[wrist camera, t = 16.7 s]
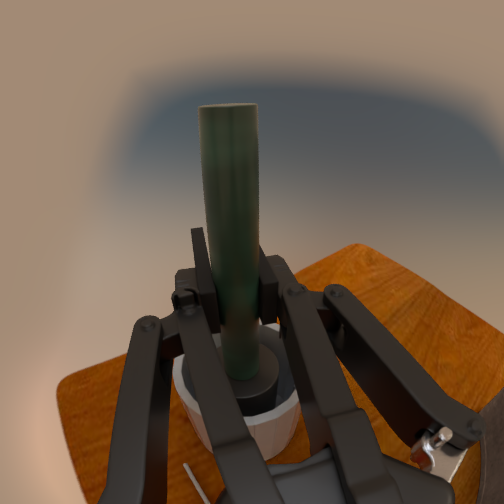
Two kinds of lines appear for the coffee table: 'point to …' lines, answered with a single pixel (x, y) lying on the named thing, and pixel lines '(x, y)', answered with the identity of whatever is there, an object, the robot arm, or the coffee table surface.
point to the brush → (236, 249)
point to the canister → (260, 426)
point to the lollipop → (196, 484)
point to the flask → (492, 453)
